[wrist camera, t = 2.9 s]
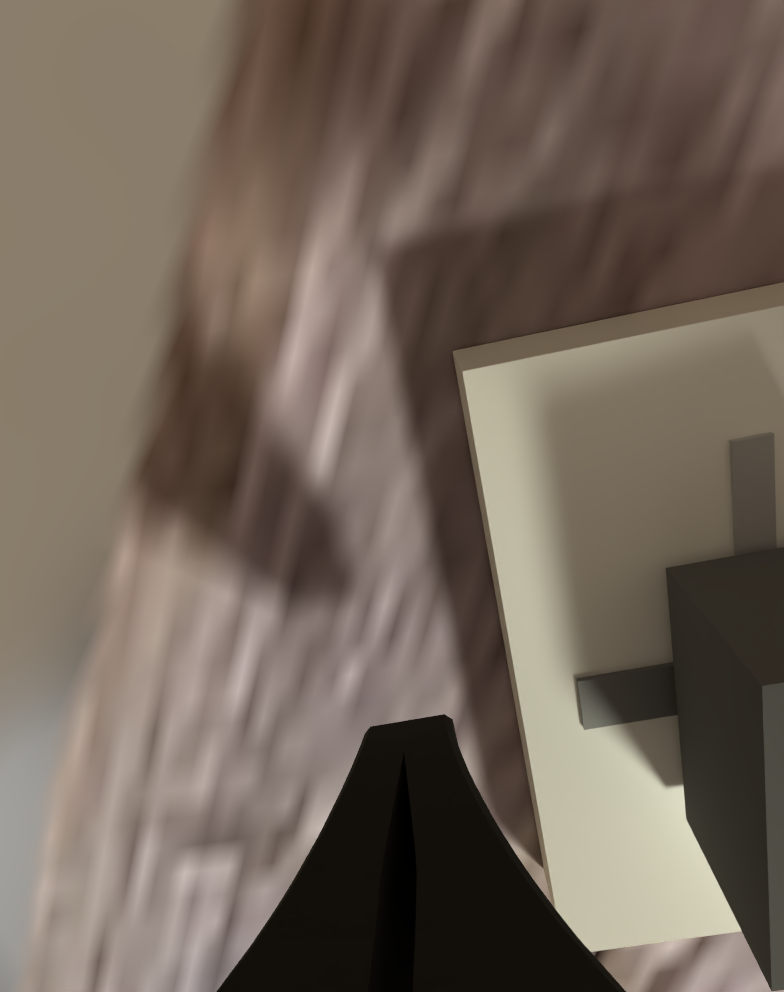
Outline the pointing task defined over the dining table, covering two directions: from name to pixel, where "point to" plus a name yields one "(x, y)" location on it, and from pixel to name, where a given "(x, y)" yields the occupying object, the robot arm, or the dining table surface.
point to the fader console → (620, 576)
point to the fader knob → (735, 733)
